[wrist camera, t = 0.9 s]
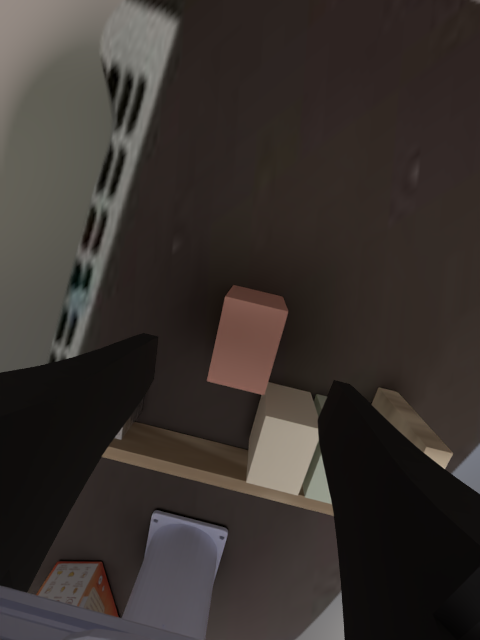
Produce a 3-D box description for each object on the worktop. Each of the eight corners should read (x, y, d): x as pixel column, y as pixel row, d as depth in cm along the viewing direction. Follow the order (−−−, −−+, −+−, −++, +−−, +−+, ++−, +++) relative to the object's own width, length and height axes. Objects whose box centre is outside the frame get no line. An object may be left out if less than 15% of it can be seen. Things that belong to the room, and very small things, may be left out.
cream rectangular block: (291, 447, 25) (297, 495, 21) (249, 437, 25) (245, 482, 21) (310, 392, 24) (322, 429, 19) (265, 380, 24) (265, 415, 19)
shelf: (354, 487, 26) (387, 574, 19) (110, 426, 26) (58, 489, 19) (397, 391, 23) (453, 453, 16) (122, 324, 23) (64, 356, 17)
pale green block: (339, 459, 25) (357, 510, 20) (296, 449, 25) (304, 497, 20) (361, 404, 24) (386, 445, 19) (316, 393, 24) (329, 431, 19)
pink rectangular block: (264, 364, 23) (264, 395, 19) (218, 352, 23) (206, 381, 19) (282, 296, 22) (288, 311, 17) (233, 284, 22) (225, 296, 17)
